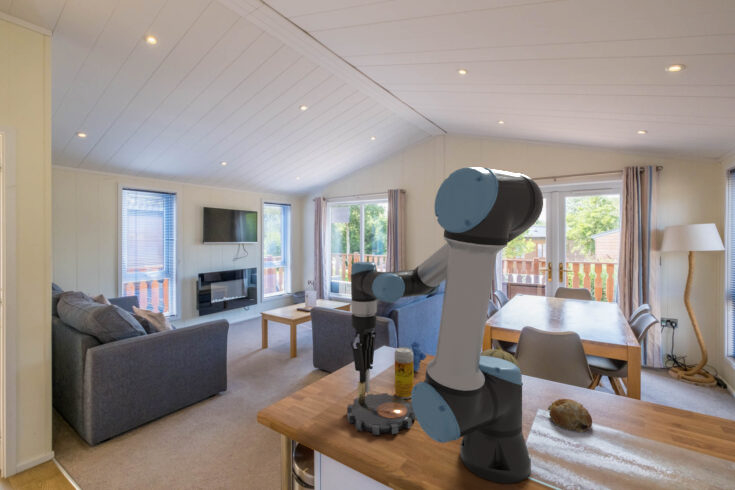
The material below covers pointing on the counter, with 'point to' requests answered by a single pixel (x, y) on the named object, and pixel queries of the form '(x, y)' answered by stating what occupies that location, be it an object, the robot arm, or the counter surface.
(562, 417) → the bread roll
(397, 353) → the beer can
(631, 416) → the counter surface
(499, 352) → the cantaloupe
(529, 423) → the counter surface
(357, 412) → the sprocket
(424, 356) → the grapes
